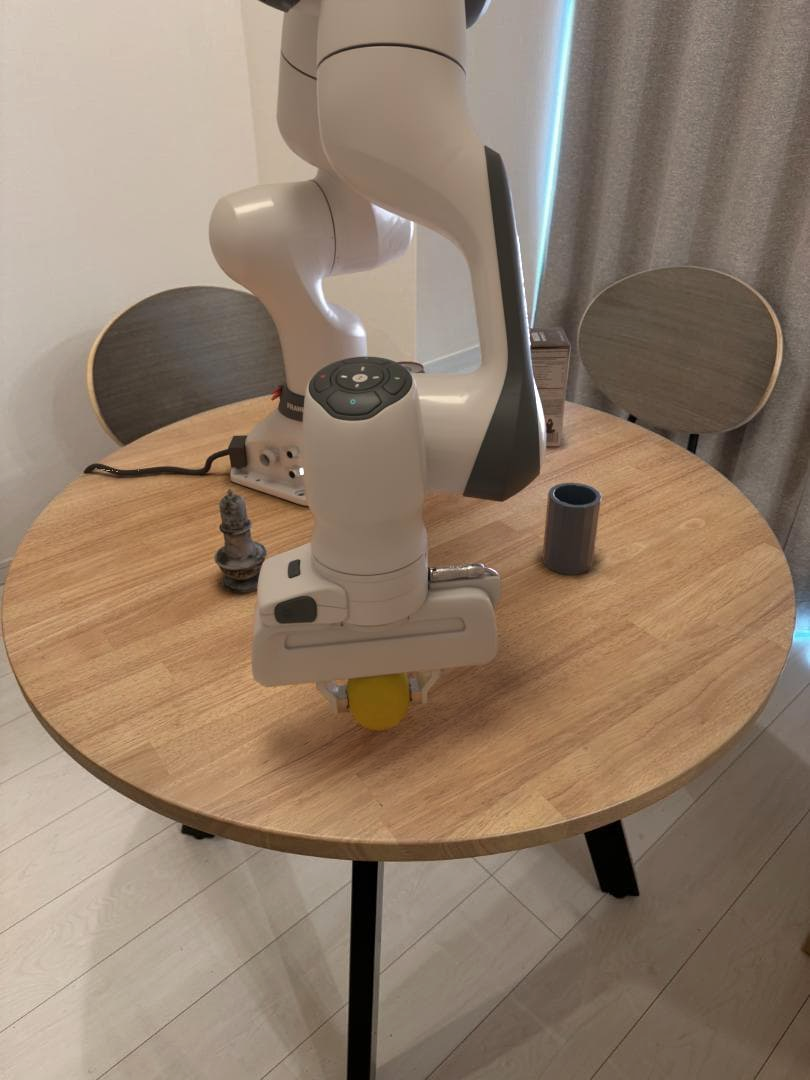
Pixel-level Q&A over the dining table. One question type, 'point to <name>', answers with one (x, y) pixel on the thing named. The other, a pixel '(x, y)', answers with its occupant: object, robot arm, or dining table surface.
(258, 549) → the grey chess piece
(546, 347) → the coffee box
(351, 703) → the lemon
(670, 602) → the dining table surface
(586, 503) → the cup
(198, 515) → the dining table surface
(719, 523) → the dining table surface
